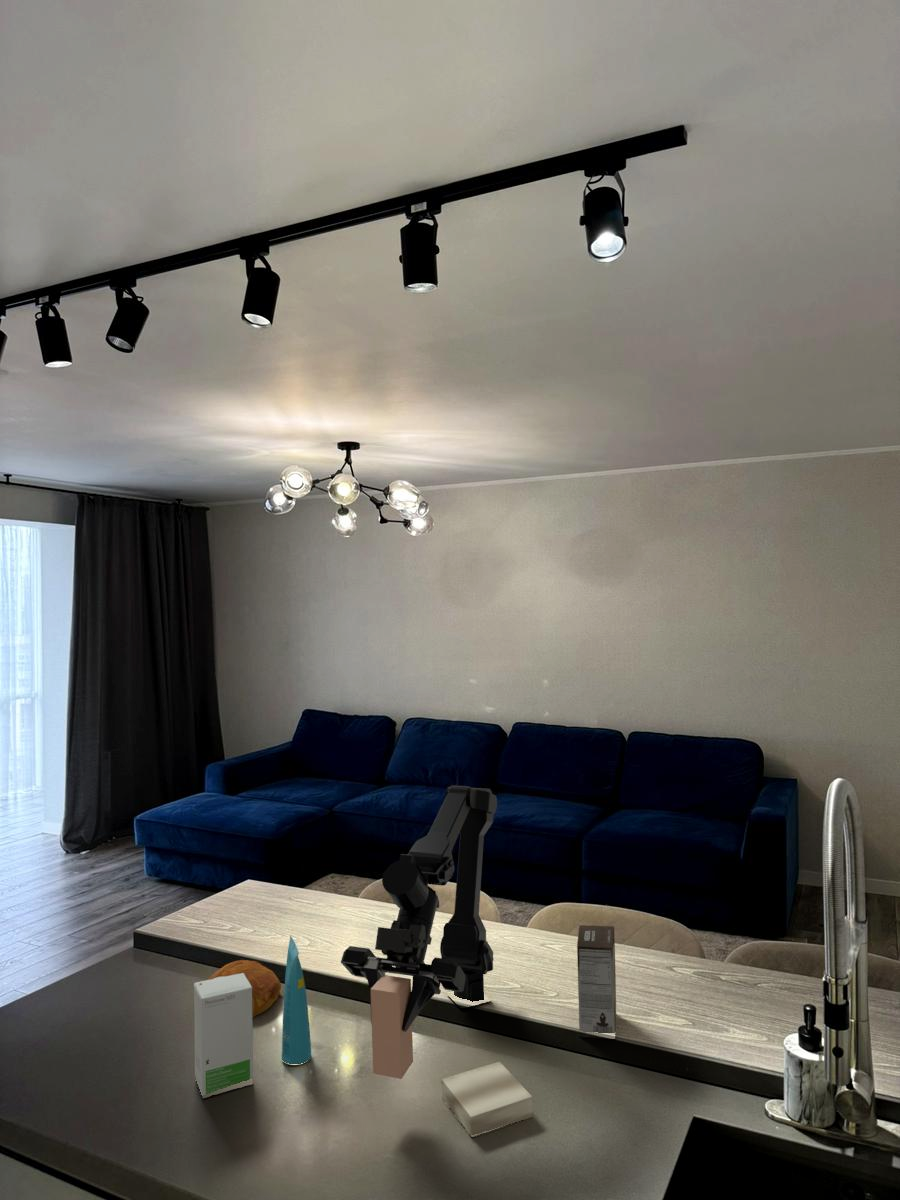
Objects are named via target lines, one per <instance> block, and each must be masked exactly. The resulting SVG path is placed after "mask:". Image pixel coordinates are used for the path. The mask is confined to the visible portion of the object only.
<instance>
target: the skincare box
mask: <svg viewBox="0 0 900 1200" xmlns="http://www.w3.org/2000/svg"><path fill="white" fill-rule="evenodd" d="M193 995H194V996H193V998H194V1001H193V1004H194V1010H193V1011H194V1078H195V1077H196V1080H195V1082H196V1081H197V1083H196V1085H197V1084H198V1086H199V1089H200V1091H199V1093H200V1092H201V1094H200V1096H201V1095H202V1096H203V1095H206V1094H209V1093H211V1092H214V1091H217V1090H219V1089H223V1088H226V1087H228V1086H231V1085H234V1084H237V1083H240V1082H242V1081H247V1080H249V1079H253V1080H254V1046H253V1045H254V1043H253V1041H254V1039H253V1038H254V1037H253V1036H254V1034H253V1027H254V1025H253V1017H252V987H251V985H250V983H249V981H248V980H247V978H246V976H245V975H244V973H241V974H236V975H231V976H226V977H217V978H214V979H211V980H207V979H206V980H201V981H198V982H197V981H196V982H194V983H193ZM198 1086H197V1087H198ZM199 1089H198V1090H199Z"/></svg>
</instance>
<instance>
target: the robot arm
mask: <svg viewBox="0 0 900 1200" xmlns="http://www.w3.org/2000/svg"><path fill="white" fill-rule="evenodd" d="M497 809H498V798H497V796H496V794H494V793H493V791H492V790H491V788H481V787H479V788H478V787H471V786H465V785H451V786H447V788H446V790H445V798H444V801H443V803H442V805H441V806H440V809H439V810H438V813H437V815H436V817H435V819H434V821H433V823H432V824H431V827H430V829H429V831H428V832H427V835H425V836H423V837H421V838H419V839H417V840H416V841H415V843H414V844H413V845H412V847H411V849H410V850H409V852H408V853H407V854H405V853H401V854H400V856H399V860H396V861H394V862H392V863H391V864H390V865H389V866H387V868H386V869H385V871H383V874H382V878H381V879H382V880H381V882H382V886H383V888H384V890H385V891H386V893H387V894H388V895H389V897H390V898H391V900H392V901H393V902H394V904H395V905H396V907H397V908H399V909H398V914H397V917H396V920H395V919H394V920H392V923H391V926H390V927H380V926H378V927H377V932H376V939H375V947H374V950H378V951H381V954H383V955H384V956H386V958H385V957H377V956H376V955H375V953H374V952H373V951H372V950H371V949H370V948H369V947H361V946H353V945H349V946H348V947H347V948H346V949H345V950H344V951H343V954H342V956H341V960H340V963H341V965H343V967H344V968H345V969H346V970H347V971H348V972H349V974H351V976H354V977H358V978H362V979H364V978H365V980H367V983H368V990H369V999H370V1000H369V1001H370V1002H369V1004H370V1007H371V988H372V987H373V986H374V985H375V984H376V982H377V981H378V980H379V979H380V978H381V977H382V976H383V975H386V973H390V974H396V975H397V974H398V975H403V976H410V977H412V981H411V994H410V998H409V1001H408V1005H407V1008H406V1011H405V1015H404V1019H403V1024H402V1030H403V1031H404V1032H406V1031H407V1030H408V1028H409V1027H410V1025H411V1024H412V1025H413V1022H415V1019H416V1018H417V1017H418V1015H419V1014H420V1012H421V1011H422V1009H423V1008H424V1007H425V1006H426V1005H427V1004H428V1003H429V1001H430V1000H431V999H432V998H433V997H434V996H435V995H440V994H441V993H442V990H441V989H440V986H442V988H443V990H446V991H454V995H455V996H457V997H459V998H462V999H467V1000H470V1001H472V1002H473V1001H479V1000H484V992H485V989H484V988H485V987H484V986H485V985H484V984H485V983H484V982H485V980H484V975H487V973H488V972H491V971H493V970H494V959H495V958H494V951H493V949H492V948H491V946H490V944H489V942H488V940H487V930H486V929H487V928H486V927H485V925H484V923H483V921H482V919H481V916H480V903H481V900H480V899H481V889H482V888H481V887H482V873H483V871H482V869H483V854H484V840H485V839H484V838H485V834H486V833H487V832H488V830H489V829H490V828H491V826H492V824H494V816H495V814H496V812H497ZM458 837H459V843H458V844H459V846H458V858H457V870H456V871H457V872H456V873H457V874H456V885H455V899H454V912H453V914H452V916H451V918H450V919H449V920H448V922H446V923H445V924H444V926H443V932H442V934H443V936H442V937H441V940H440V947H439V949H440V951H439V952H440V957H435V956H434V958H433V959H432V961H431V964H428V963H425V958H426V954H427V949H428V945H429V946H430V945H432V940H433V938H432V936H431V933H432V930H433V929H432V928H433V924H434V919H435V916H436V912H437V908H438V909H439V908H440V900H439V896H438V894H437V891H436V890H434V889H433V888H432V887H431V886H429V885H433V886H442V887H443V886H446V885H447V884H448V882H449V880H451V878H452V877H453V875H454V874H453V873H454V872H455V865H454V864H455V863H454V859H453V853H452V852H453V848H454V846H455V843H456V841H457V839H458ZM370 1024H371V1025H372V1019H371V1018H370Z"/></svg>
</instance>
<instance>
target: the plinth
mask: <svg viewBox="0 0 900 1200" xmlns="http://www.w3.org/2000/svg"><path fill="white" fill-rule="evenodd" d="M442 1098H443V1099H442ZM441 1099H442V1101H443V1100H444V1101H445V1102H446V1103H447V1105H448V1106H449V1107H450V1108H451V1110H452V1111H453V1112H454V1114H455V1115H456V1117H457V1118H458V1119H459V1120H460V1122H461V1123H462V1124H463V1125H464V1126H465V1128H466V1129H467V1130H468V1132H469V1133H470V1134H471V1135H475V1134H479V1133H482V1132H484V1131H489V1130H492V1129H495V1128H498V1127H501V1126H504V1125H507V1124H511V1125H513V1124H512V1123H514V1124H516V1123H515V1122H517V1123H520V1122H522V1121H521V1120H523V1121H525V1120H528V1119H531V1118H533V1096H532V1094H530V1093H529V1091H527V1090H526V1088H524V1086H523V1085H522V1084H521V1083H520V1082H519V1081H518V1080H517V1078H516V1077H514V1075H513V1074H511V1072H510V1071H509V1070H508V1068H507V1067H505V1066H504V1064H502V1063H501V1061H497V1062H493V1063H489V1064H486V1065H483V1066H480V1067H477V1068H474V1069H470V1070H466V1071H464V1072H460V1073H457V1074H455V1075H451V1076H447V1077H445V1078H441ZM444 1101H443V1102H444ZM445 1102H444V1103H445ZM446 1103H445V1104H446ZM447 1105H446V1106H447ZM448 1106H447V1107H448ZM449 1107H448V1108H449ZM451 1110H450V1111H451ZM452 1111H451V1112H452ZM454 1114H453V1115H454ZM455 1115H454V1116H455ZM456 1117H455V1118H456ZM457 1118H456V1119H457ZM458 1119H457V1120H458ZM519 1121H520V1122H519ZM460 1122H459V1123H460ZM461 1123H460V1124H461Z"/></svg>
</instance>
